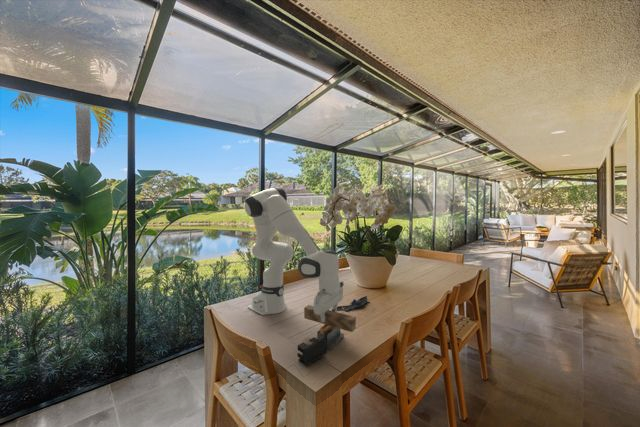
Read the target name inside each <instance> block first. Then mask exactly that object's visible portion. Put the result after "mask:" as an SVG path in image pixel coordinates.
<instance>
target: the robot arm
mask: <svg viewBox="0 0 640 427" xmlns="http://www.w3.org/2000/svg"><path fill="white" fill-rule="evenodd" d="M287 196H288V195H287V193H286V191H285V189H284V188H282V187H280V186H274V187H272V188H267V189H264V190H262V191H259V192H256V193H254V194H253V195H249V196H248V197H247V196H246V198H245V199H244V200H243V208H244V210H245V213H246V214H247V216H249V217H251V218H252V220H253V224H254V228H255V232H256V236H257V237H256V242H255V243H254V244H253V245H252V248H251V252H252V256H253V257H255V258H256V259H259V260H262V261H269V262H270V264H269V266H268V267H266V268H265V269H264V270H263V273H262V281H263V283H262V284H261V285H260V286H259V289H260V291H258V292H257V293H256V294H255V295H254V296H252V300H251V301H252V302H251V303H250V304H248V306H247V308H248V309H249V310H251V311H253V312H256V313H257V314H259V315H261V316H266V315H274V314H280V313H282V312H284V311H285V310H287V306H286V302H285V297H284V289H285V288H284V287H285V286H284V269H285V267H286V266H287V263H289V262H290V261H291V260H292V259H293V257H294V247H293V245H292V244H290V243H286V242H285V241H283V242H282V241H274V240H273V237H274V236H276V234H277V232H278V233H279V234H280V235H282V236H285V237H289V238H291V239H292V238H293V239H294V240H295V241H297V242H298V243H299V245H300V247H301V248H302V250H303V251H304V253H305V254H306V255H305V256H304V257H302V258H301V259H300V260H299V261H298V263H297V269H298V273H299V275H300V276H301V277H303V278H305V279H314V278H315V279H316V278H317V279H318V291H317V293H316V295H315V297H314V301H313V306H314V313H315V314H317V315H320V317H321V322H325V321H326V317H325V312H326V311H328V310H331V311H334V312H337V311H338V310H337V307H339V306H338V305H339V303H340V302H341V301H342V300H343V297H344V296H343V295H344V284H345V282H344V281H343V280H340V278H339V271H340V263H339V261H340V260H339V255H338V253H337V252H336V250H334V249H331V248H321V249H320V248H319V247H318V245H317V244H316V242H315V241H314V239H313V238H312V237H311V235H310V234H309V232H308V230H307V229H306V228H305V227H304V226H303V224H302V223H301V222H300V220H299V219H298V217H297V215H296V213H295V212H294V210H293V209H292V207H291V205H290V204H289V203H288V197H287Z"/></svg>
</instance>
